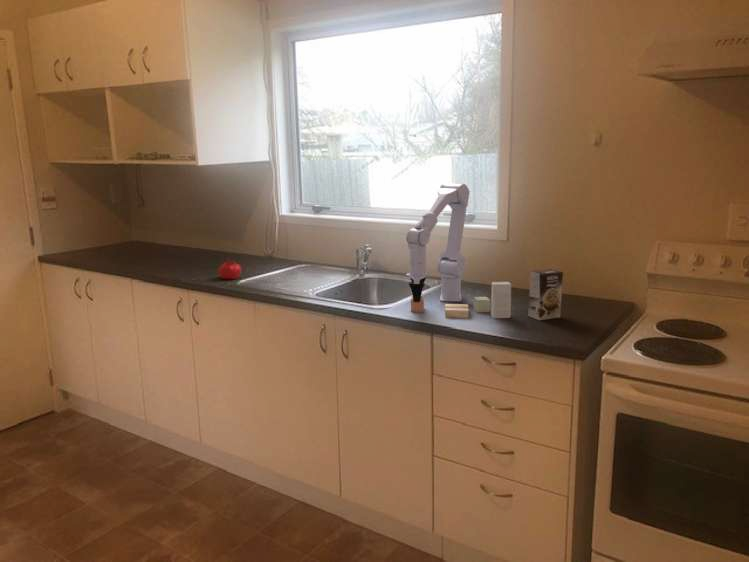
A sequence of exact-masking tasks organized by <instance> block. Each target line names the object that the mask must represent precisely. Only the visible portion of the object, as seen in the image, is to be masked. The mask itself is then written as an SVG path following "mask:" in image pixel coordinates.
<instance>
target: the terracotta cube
mask: <svg viewBox="0 0 749 562" xmlns="http://www.w3.org/2000/svg"><path fill="white" fill-rule="evenodd" d="M410 298H411V299H410V311H411V312H421V313H422V312H425V311H424V310H425V296H422V295H421V299H420V302H414V300H413V295H412V296H411V297H410Z"/></svg>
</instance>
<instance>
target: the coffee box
mask: <svg viewBox="0 0 749 562" xmlns="http://www.w3.org/2000/svg"><path fill="white" fill-rule="evenodd" d="M563 274H564V272H563V271H560V270H556V269H551V268H550V269H541V270H540V269H539V270H531V271H530V279H529V281H530V282H529V296H528V297H529V298H528V299H529V300H528V317H530V318H532V319H535V320H537V321H545V320H551V319H552V320H553V319H559V318H561V309H562V296H563V295H562V294H563V293H562V292H563V290H562V289H563V278H564V277H563Z"/></svg>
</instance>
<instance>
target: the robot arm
mask: <svg viewBox="0 0 749 562" xmlns="http://www.w3.org/2000/svg"><path fill="white" fill-rule="evenodd" d="M469 198H470V190H469V188H468V185H467V184H466V183H445V182H443V183H442V184H441V185H440V186H439V188H438V189H437V197H436V199H435V201H434V203H433V205H432V206H431V208H430V210H429V211H428V212H424V213H423V214H422V216H421V218H420V219H419V221H418V222H417V224H416V225H415V226H414V227H413V228H411V229H409V230H408V232H407V233H406V236H405V240H406V242H407V248H408V249H409V273H406V277H409V278H410V281H409V282H408V285H409V286H408V287H410V288H409V289H410V291H411V295H412V296H413V300H414V302H420V299H421V296H422V292H423V289H424V287H425V284H426V283H425V282H426V280H427V272H426V271H427V270H426V267H427V264H426V261H427V256H426V253H427V249H426V248H427V246H426V245H428V243H429V242H430V239H431V234H432V232H433V230H434V229H435V227H436V225H437V224H438V221H439V220H438V217H439V216H440V214H441V213H442V212H443V210H444V209H445V208H446V207H447V206H448V207H450V210H451V214H450V221H449V228H448V235H447V243H446V249H445V250H444V252H442V253H441V254H440V257H439V259H438V262H437V266H436V269H437V272H438V274H439V276H440V277H441V294H440V302H462V295H461V284H462V282H461V281H462V280H461V279H462V277H463V276H464V275H465V273H466V269H467V266H466V257H465V256H464V255H463V254H462V252H461V250H462V249H461V248H462V241H463V240H462V239H463V234H464V228H465V221H466V215H467V213H466V212H467V207H468V205H469V200H470V199H469Z"/></svg>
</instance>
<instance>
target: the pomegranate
mask: <svg viewBox="0 0 749 562" xmlns="http://www.w3.org/2000/svg"><path fill="white" fill-rule="evenodd" d="M218 274H219V278H221V280H236V279H239V277H240V276H241V274H242V266H241V264H239V263H237V262H236V261H235V260H233V261H231V260H230V258H229V257H227V261H223V264H221V265H220V266H219V268H218Z"/></svg>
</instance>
